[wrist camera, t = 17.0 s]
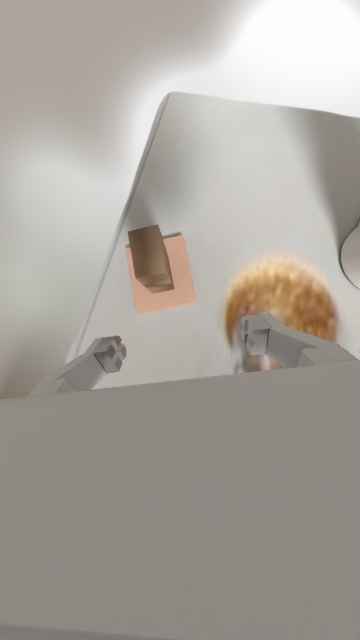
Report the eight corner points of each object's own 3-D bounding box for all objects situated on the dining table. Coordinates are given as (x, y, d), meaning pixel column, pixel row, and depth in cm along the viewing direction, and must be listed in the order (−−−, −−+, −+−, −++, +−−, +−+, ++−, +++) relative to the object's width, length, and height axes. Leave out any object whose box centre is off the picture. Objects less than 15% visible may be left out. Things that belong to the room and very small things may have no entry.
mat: (182, 237, 32) (182, 234, 31) (196, 302, 30) (196, 301, 29) (127, 250, 32) (125, 248, 31) (138, 314, 31) (136, 313, 30)
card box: (168, 256, 31) (158, 224, 22) (174, 289, 30) (166, 271, 21) (146, 260, 31) (127, 231, 22) (152, 293, 30) (135, 277, 21)
